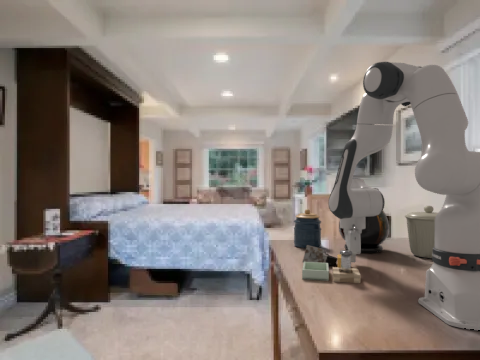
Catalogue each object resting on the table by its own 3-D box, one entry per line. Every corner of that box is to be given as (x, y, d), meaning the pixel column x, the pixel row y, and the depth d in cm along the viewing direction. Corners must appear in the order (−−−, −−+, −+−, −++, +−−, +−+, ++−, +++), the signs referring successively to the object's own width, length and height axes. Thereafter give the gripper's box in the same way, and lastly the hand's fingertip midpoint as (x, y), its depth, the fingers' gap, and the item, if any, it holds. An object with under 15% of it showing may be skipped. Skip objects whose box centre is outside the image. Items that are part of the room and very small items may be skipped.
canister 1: (291, 247, 164) (291, 209, 164) (295, 242, 176) (295, 207, 176) (320, 249, 160) (320, 210, 160) (322, 244, 172) (322, 208, 172)
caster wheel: (335, 269, 134) (332, 272, 124) (306, 260, 138) (302, 262, 129) (339, 252, 134) (337, 253, 125) (310, 244, 138) (306, 244, 129)
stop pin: (352, 280, 110) (352, 252, 110) (340, 280, 111) (340, 252, 111) (351, 277, 113) (351, 250, 113) (339, 276, 114) (339, 249, 114)
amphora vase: (395, 256, 146) (395, 188, 146) (341, 254, 149) (342, 188, 149) (382, 246, 167) (382, 187, 167) (336, 244, 171) (336, 187, 171)
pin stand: (360, 283, 107) (360, 275, 107) (333, 281, 109) (333, 273, 109) (357, 276, 115) (357, 268, 115) (332, 274, 117) (332, 267, 117)
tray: (328, 280, 110) (328, 271, 110) (302, 279, 112) (302, 269, 112) (327, 271, 121) (328, 263, 121) (303, 270, 123) (303, 261, 123)
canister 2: (455, 255, 148) (455, 205, 148) (452, 263, 133) (452, 208, 133) (408, 250, 158) (408, 203, 158) (401, 257, 144) (401, 205, 144)
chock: (349, 269, 124) (349, 258, 124) (337, 269, 125) (337, 257, 125) (348, 265, 130) (348, 255, 130) (337, 265, 131) (337, 254, 131)
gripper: (365, 227, 116) (365, 269, 116) (358, 220, 136) (358, 256, 136) (345, 226, 117) (345, 268, 117) (341, 220, 137) (341, 255, 137)
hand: (352, 261), depth 127 cm, fingers closed
